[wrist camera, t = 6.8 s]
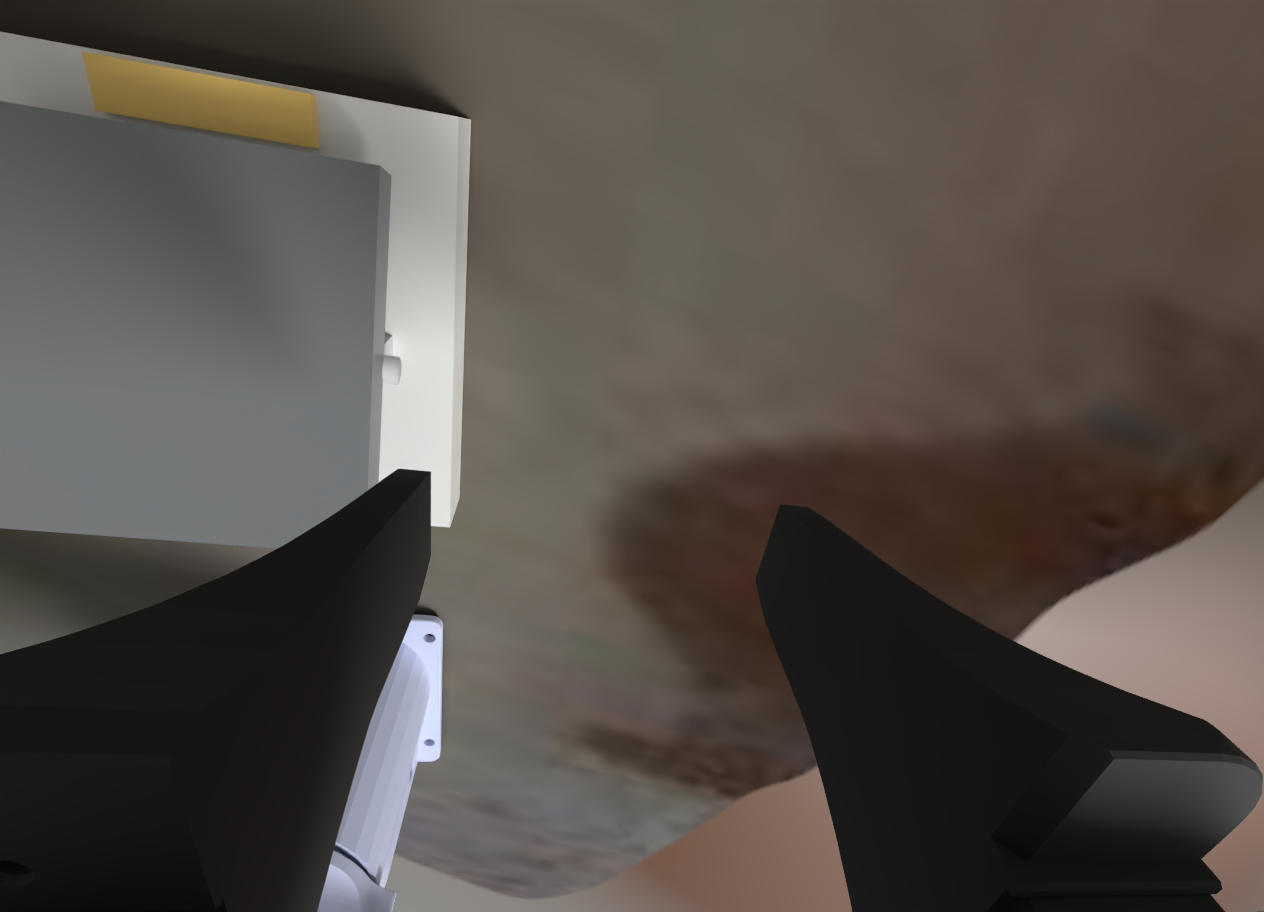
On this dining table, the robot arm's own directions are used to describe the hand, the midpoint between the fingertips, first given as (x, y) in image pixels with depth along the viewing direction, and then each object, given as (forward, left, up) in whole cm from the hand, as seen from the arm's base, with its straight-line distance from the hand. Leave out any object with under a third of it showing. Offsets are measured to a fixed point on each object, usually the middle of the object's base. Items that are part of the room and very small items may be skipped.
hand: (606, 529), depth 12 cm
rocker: (+1, +11, -6) cm, 12 cm away
